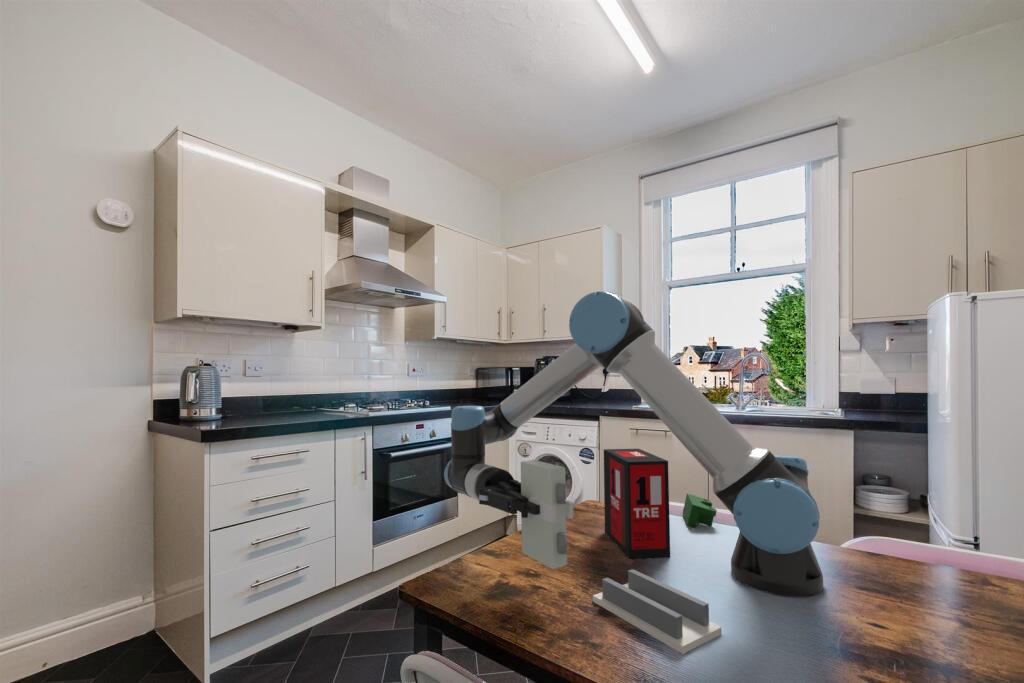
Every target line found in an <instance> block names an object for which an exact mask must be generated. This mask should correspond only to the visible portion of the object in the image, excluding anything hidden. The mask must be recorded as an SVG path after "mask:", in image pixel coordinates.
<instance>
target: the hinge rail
mask: <svg viewBox="0 0 1024 683" xmlns="http://www.w3.org/2000/svg"><path fill="white" fill-rule="evenodd" d="M627 575H628V576H627V578H628V579H627V583H624V584H621V583H619V582H617V581H615V580H613V579H611V578H610V577H605V578H602V579H601V581H602V582H601V584H602V585H601V589H602V592H601V591H600V592H597V593H596V594H593V595H592V602H593V603H595V604H597V605H598V606H600V607H602V608H604V609H605V610H607V611H609V612H610V613H612V614H613V615H615V616H617V617H618V618H620V619H622V620H623V621H626V622H627V623H629V624H630V625H632V626H634V627H636V628H638V629H639V630H641V631H643V632H644V633H646V634H647V635H650V636H651V637H653V638H655V639H656V640H658V641H660V643H661V642H662V643H663V644H665V645H667V646H668V647H670V648H672V649H674V651H677V652H678V653H680V654H681V655H684V654H686V653H688V652H690V651H692V650H694V649H695V648H698V647H699V646H701V645H703V644H705V643H707V642H709V641H711V640H713V639H715V638H717V637H719V636H721V635H723V634H722V626H719V625H717V624H716V623H714V622H711V621H710V616H709V615H710V609H709V607H710V606H709V603H708V602H705V601H704V600H701V599H700V598H697V597H694V596H692V595H690V594H688V593H686V592H684V591H681V590H680V589H678V588H675V587H673V586H671V585H668V584H666V583H664V582H662V581H659V580H657V579H655V578H653V577H651V576H649V575H647V574H644V573H642V572H639V571H638V570H635V568H633V569H630V570H627Z"/></svg>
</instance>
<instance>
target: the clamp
mask: <svg viewBox="0 0 1024 683" xmlns="http://www.w3.org/2000/svg"><path fill="white" fill-rule="evenodd" d="M717 512H718V510H717V508H715V507H713V502H712V501H711V500H709V499H707V498H704V497H699V496H696V495H693V494H690V493H686V497H685V501H684V504H683V509H682V517H683V519H684V521H685V524H686V526H690V527H693V528H697V526H698V524H701V525H703V526H707V527H713V526H712V525H713V521H714V519H715V517H716V516H717Z"/></svg>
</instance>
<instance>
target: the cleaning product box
mask: <svg viewBox="0 0 1024 683" xmlns="http://www.w3.org/2000/svg"><path fill="white" fill-rule="evenodd" d="M669 480H670V478H669V460H666V459H664V458H662V457H659V456H657V455H655V454H652V453H650V452H647V451H646V450H643V449H640V448H610V449H609V448H607V449H606V448H604V449H603V490H604V492H603V493H604V498H603V499H604V500H603V501H604V507H603V508H604V534H605V533H606V534H607V535H608V536H609V537H608V536H607V535H606V534H605V535H606V536H607V537H608V538H609V539H610V540H611V541H612V542H613V543H614V544H615V546H616V545H617V546H618V547H617V546H616V547H617V548H618V549H619V550H620V551H621V552H622V554H624V556H625V557H626V558H627V559H628V558H629V559H632V560H648V559H647V558H652V559H670V558H671V531H670V526H671V525H670V488H669V486H670V485H669ZM669 557H670V558H669ZM629 559H628V560H629Z"/></svg>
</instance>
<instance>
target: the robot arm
mask: <svg viewBox="0 0 1024 683" xmlns="http://www.w3.org/2000/svg"><path fill="white" fill-rule="evenodd" d="M572 308H573V309H572V310H571V312H570V315H569V321H568V322H569V323H568V329H569V332H570V337H571V338H572V340H573V341H574V344H573V345H572V346H571V347H570V348H568V349H566V350H565V351H564V352H563V353H562V354H560V355H559V356H557V358H556V359H554V360H553V361H551V362H550V363H549V364H548V365H546V366H545V367H544V368H543V369H542V370H540V371H539V372H538V373H536V374H535V375H534V376H532V377H531V378H530V379H528V381H526V382H525V383H523V384H522V385H521V386H520V387H519V388H518V389H516V390H515V391H514V392H512V393H511V394H510V395H509V396H508V397H506V398H504V399H503V400H502V401H501V402H500V403H499V404H497V405H496V406H495V407H493V409H491V410H490V411H489V410H488V411H486V410H485V408H484V406H481V405H461V406H455V407H453V409H452V411H451V423H450V430H451V432H450V435H451V439H450V440H451V457H450V460H449V461H448V462H447V464H446V466H445V468H444V471H443V478H444V481H445V483H446V485H447V486H448V487H450V488H451V489H452V490H454V492H456V493H458V494H461V495H464V496H467V497H469V498H472V499H473V500H476V501H478V504H480V505H483V506H489V507H491V508H493V509H497V510H499V511H502V512H506V513H507V514H511V515H517V514H518V512H519V513H521V514H520V516H521V517H522V518H527V517H528V513H529V514H531V515H534V516H536V517H538V518H541V519H543V520H546V521H548V522H550V523H556V505H553V504H550V503H547V502H545V501H542V500H539V499H536V498H534V497H530V498H529V501H528V498H527V497H525V496H523V495H521V481H518V480H516V479H515V478H514V477H513V475H512V474H511V472H509V471H508V470H505V469H503V468H500V467H496V466H493V465H490V464H487V463H486V445H489V444H493V443H498V442H503V441H506V440H508V439H510V438H512V437H513V436H514V435H515V434H516V433H517V431H518V429H519V428H520V427H521V426H523V425H525V424H526V423H527V422H528V421H529V420H531V419H532V418H534V417H535V416H536V415H537V414H539V413H540V412H542V411H543V410H545V409H546V408H547V407H548V406H550V405H551V404H553V403H554V402H555V401H556V400H557V399H559V398H560V397H562V396H563V395H564V394H566V393H567V392H568V391H570V390H571V389H573V388H574V387H575V386H576V385H578V384H579V383H581V382H582V381H583V380H584V379H586V378H588V376H590V375H591V374H592V373H594V372H595V371H597V370H598V369H599V368H604V369H605V370H606V372H608V373H613V374H618V375H620V376H621V377H622V378H623V379H624V380H625V381H626V382H627V383H628V384H629V386H630V387H631V388H632V389H633V390H634V391H635V392H636V393H637V394H638V396H639V397H640V398H641V399H642V400H643V401H644V403H645V404H646V405H647V406H648V407H649V408H650V409H651V411H653V412H654V414H655V415H656V416H657V417H658V418H659V419H660V420H661V422H662V423H663V424H664V425H665V426H666V427H667V428H668V430H670V432H672V434H673V435H674V436H675V437H676V439H677V440H678V441H679V442H680V443H681V444H682V445H683V447H684V448H685V449H686V450H687V451H688V452H689V453H690V454H691V455H692V457H693V458H695V460H696V461H697V463H699V465H701V467H702V468H704V470H705V471H706V472H707V473H708V475H710V477H711V479H712V493H714V495H715V496H716V497H717V498H718V499H719V501H720V502H722V504H723V505H724V506H725V507H726V508H727V510H728V511H730V513H731V514H732V516H733V519H734V522H735V524H736V526H737V528H738V529H739V533H738V537H737V540H736V543H735V547H734V549H733V552H732V554H731V557H730V558H731V559H730V560H731V561H730V570H731V572H730V573H731V574H732V576H733V578H735V579H736V580H738V581H739V582H741V583H743V584H744V585H746V586H748V587H750V588H753V589H755V590H758V591H762V592H764V593H769V594H773V595H778V596H783V597H794V598H795V597H796V598H797V597H800V598H802V597H812V596H816V595H819V594H820V593H822V592H823V590H824V574H823V572H822V569H821V566H820V564H819V562H818V559H817V556H816V553H815V551H814V549H813V545H812V542H813V541H814V539H815V538H816V536H817V534H818V531H819V528H820V527H819V526H820V519H821V518H820V511H819V506H818V504H817V502H816V500H815V499H814V497H813V495H812V494H811V492H810V489H809V482H808V481H809V480H808V476H809V470H808V465H807V461H806V460H805V459H804V458H803V457H800V456H789V455H781V454H779V455H778V454H773V453H772V452H771V451H770V450H769V448H764V447H757V446H753V445H752V444H751V443H750V442H749V441H748V440H747V439H746V438H745V436H743V435H742V433H741V432H739V430H737V428H735V426H734V425H733V424H731V422H730V421H729V420H728V419H727V418H726V417H725V416H724V415H723V414H722V413H721V412H720V411H719V409H717V407H716V406H715V405H714V404H713V403H712V402H711V401H710V400H709V399H708V398H707V397H706V396H705V395H704V394H703V393H702V392H701V390H699V388H697V386H696V385H695V384H694V383H693V382H692V381H691V380H690V379H689V378H688V377H687V375H685V374H684V372H682V371H681V369H679V367H678V366H677V365H676V364H675V363H674V362H673V360H671V359H670V358H669V357H668V356H667V355H666V353H664V351H662V349H660V348H659V346H658V345H656V331H655V330H654V329H653V328H652V327H651V326H650V325H649V324H648V323H647V322H646V321H645V319H644V317H643V314H642V312H641V311H640V309H639V308H638V307H637V306H636V305H635V304H633V303H632V302H630V301H628V300H626V299H624V298H622V297H621V296H620V295H619V294H617V293H613V292H611V291H603V290H602V291H601V290H600V291H593V292H590V293H588V294H586V295H584V296H583V297H581V298H580V299H579V300H578V301H577V302H576V303H575V305H574V306H573V307H572ZM566 519H569V520H573V519H574V501H572V500H568V499H566Z"/></svg>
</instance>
